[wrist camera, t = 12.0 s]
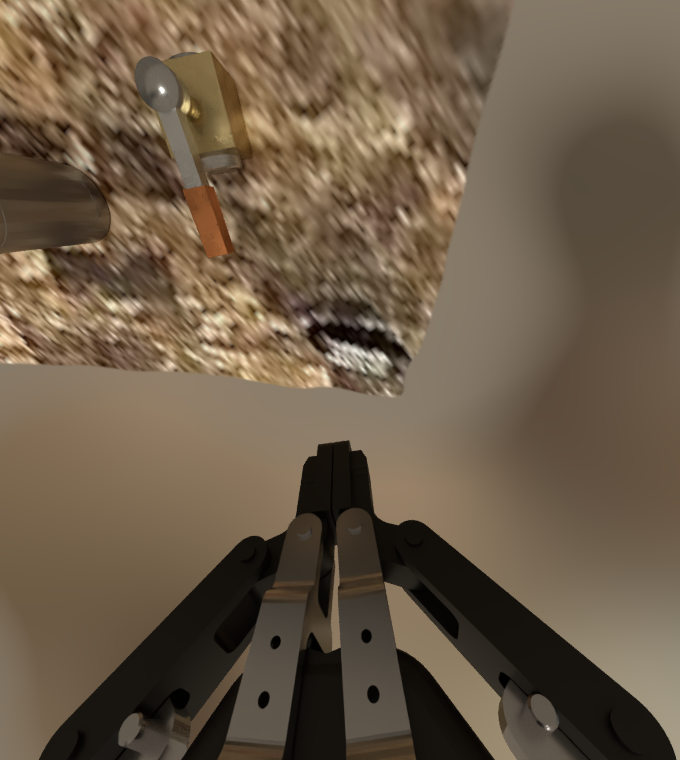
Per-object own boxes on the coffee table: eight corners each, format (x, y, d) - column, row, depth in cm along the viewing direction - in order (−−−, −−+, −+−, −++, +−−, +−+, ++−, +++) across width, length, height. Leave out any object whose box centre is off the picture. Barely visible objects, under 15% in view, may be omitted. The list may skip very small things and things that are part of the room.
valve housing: (203, 177, 37) (159, 165, 28) (172, 81, 32) (109, 31, 23) (255, 167, 36) (227, 153, 27) (231, 68, 32) (189, 13, 23)
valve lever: (145, 75, 24) (127, 61, 22) (180, 66, 24) (164, 51, 22) (212, 255, 32) (202, 258, 30) (239, 250, 31) (231, 253, 29)
